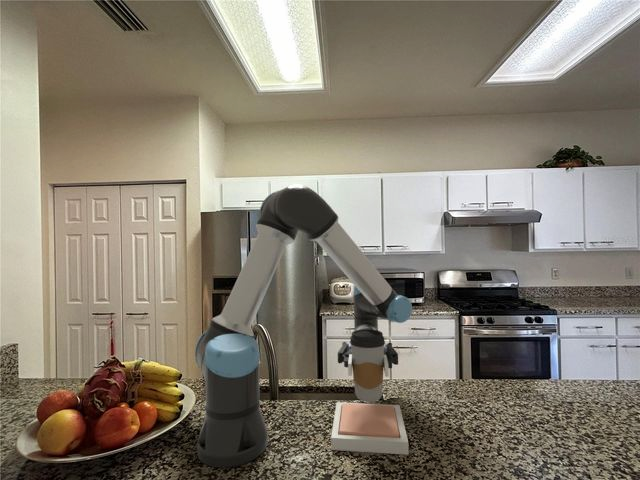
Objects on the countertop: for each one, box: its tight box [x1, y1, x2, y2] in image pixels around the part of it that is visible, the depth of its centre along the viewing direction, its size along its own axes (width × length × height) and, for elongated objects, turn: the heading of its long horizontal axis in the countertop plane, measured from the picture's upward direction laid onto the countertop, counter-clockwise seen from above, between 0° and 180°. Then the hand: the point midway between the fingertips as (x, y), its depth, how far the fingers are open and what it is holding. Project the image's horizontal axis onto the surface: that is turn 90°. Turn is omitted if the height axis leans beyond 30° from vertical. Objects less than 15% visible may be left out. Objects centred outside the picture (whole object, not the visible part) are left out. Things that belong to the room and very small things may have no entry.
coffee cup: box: [349, 329, 386, 403], centre depth 80 cm, size 8×8×15 cm
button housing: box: [330, 401, 410, 455], centre depth 79 cm, size 16×16×3 cm
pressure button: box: [339, 402, 399, 438], centre depth 79 cm, size 13×13×1 cm
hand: (368, 370), depth 75 cm, fingers closed on coffee cup, 7 cm apart
